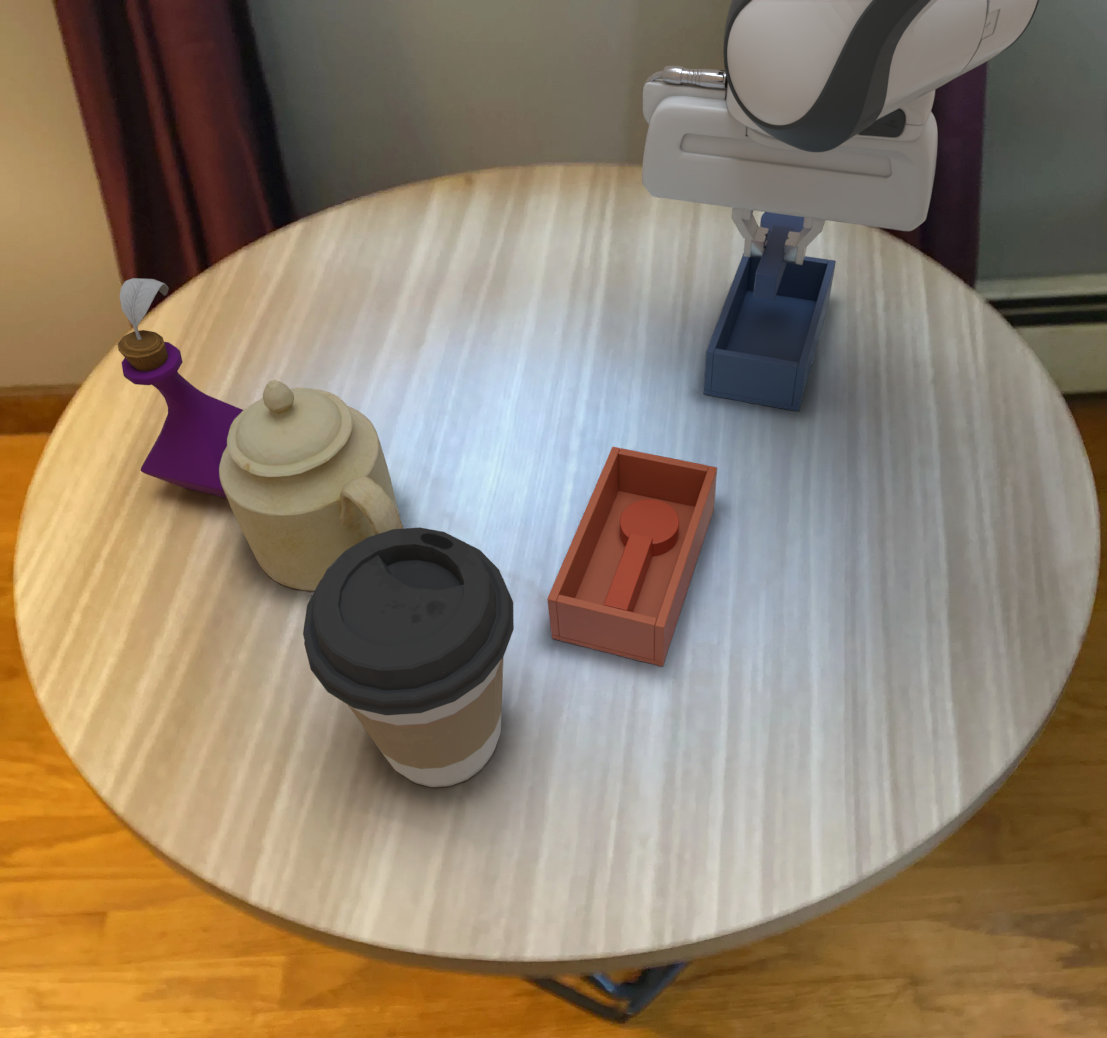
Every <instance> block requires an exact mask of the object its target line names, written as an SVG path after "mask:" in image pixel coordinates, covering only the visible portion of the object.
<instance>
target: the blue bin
mask: <svg viewBox="0 0 1107 1038" xmlns="http://www.w3.org/2000/svg"><path fill="white" fill-rule="evenodd" d="M743 254H744V252H743V253H742V256H741V259H740V261H739V264H738V267H737V268H736V271H735V275H734V277H733V280H732V282H731V285H730V288H729V290H728V293H727V296H726V298H725V301H724V303H723V305H722V309H721V311H720V314H719V317H718V319H717V322H716V324H715V327H714V330H713V332H712V335H711V338H710V340H709V343H708V347H707V348H706V351H705V363H704V365H705V366H704V379H703V381H704V382H703V395H706V396H712V397H717V398H722V399H726V400H727V399H728V400H733V401H740V402H745V403H750V404H754V405H761V406H766V407H773V408H778V409H783V410H789V411H794V412H799V411H800V409H801V405H802V401H803V397H804V393H805V391H806V386H807V383H808V380H809V376H810V372H811V368H812V365H813V362H814V357H815V356H816V355H815V354H816V350H817V347H818V343H819V340H820V336H821V333H822V329H823V325H824V321H825V319H826V315H827V311H828V307H829V304H830V298H831V294H832V287H833V282H834V281H833V280H834V275H835V270H836V264H837V262H836V260H835V259H827V258H820V257H813V256H807V255H805V258H804V261H803V264H802V265H798V264H792V263H787V264H786V267H785V270H784V273H783V276H782V279H781V282H780V285H779V287H778V290H777V293H776V296H775V299H774V300H769V299H762V298H756V297H753V294H754V284H755V275H756V271H757V268H758V266H759V263H760V260H761V259H757V258H750V257H744V255H743Z"/></svg>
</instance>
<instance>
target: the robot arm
mask: <svg viewBox="0 0 1107 1038" xmlns="http://www.w3.org/2000/svg"><path fill="white" fill-rule="evenodd" d="M1039 2H1040V0H730V5H729V8H728V11H727V16H726V22H725V25H724V34H723V47H722V49H723V66H724V70H723V69H712V68H687V67H684V66H681V65H667V66H664V67H663V70H660V71H656V72H654V73H652V74H650V75H649V77H647V79H645V81H644V83H643V86H642V90H641V92H642V95H641V97H642V99H641V102H642V104H641V105H642V106H641V107H642V108H641V110H642V114H643V117H644V120H645V122H646V123H647V124H648V127H647V133H646V138H645V143H644V149H643V157H642V166H641V183H642V186H644V188H645V190H646V191H647V192H648V193H649V195H650V196H651V197H654V198H659V199H667V200H675V201H681V202H688V203H695V204H696V203H697V204H703V205H710V206H719V207H725V208H731V220H732V222H733V223H734V225H735V227H736V228H737V231H738V233H739V235H740V236H741V237H742V239H744V242H743V243H744V245H743V253H744V254H743V253H742V256H743V255H744V257H750V258H757V259H761V257H762V255H763V253H764V250H765V247H766V245H767V242H768V241H767V238H768V233H769V228H763V227H760V226H759V224H758V222H757V220H756V219H755V216H754V214H753V213H754V211H757V212H763V213H764V212H769V213H777V214H784V215H791V216H799V217H804V224H803V227H804V228H803V229H802V230H801V232H791V231H789V234H788V237H787V240H786V242H785V247H784V256H783V262H786V263H792V264H798V265H802V264H803V261H804V258H805V256H806V253H807V248H808V246H809V245H810V244H811V243H812V242H813V241H814V240H815V239H816V238H817V237H818V236H819V235H820V234H821V233H822V231H823V229H824V226H825V223H826V221H829V222H836V223H844V224H851V225H859V226H866V227H867V226H868V227H874V228H881V229H889V230H895V231H902V232H912V231H914V230H915V229H917V228H919V226H920V225H922V224H923V223H924V222H926V220H927V218H928V213H929V208H930V203H931V199H932V192H933V188H934V181H935V175H936V168H937V158H938V141H939V138H938V135H939V134H938V133H939V132H938V124H937V119H936V117H935V115H934V113H933V112H932V109H933V105H934V103H935V102H934V101H935V97H936V90H937V89H939V88H941V87H942V86H943V87H944V85H946V84H949V82H951V81H953V80H955V79H957V78H958V77H960V76H962V75H964V74H967V72H970V71H971V70H974V69H975V68H977V67H979V66H981V65H983V64H985V63H986V62H988V61H991V60H992V59H993V58H994V57H996V56H997V55H999V54H1000V53H1002V52H1004V51H1006V50H1007V49H1009V48H1010V47H1012V46H1013V45H1014V44H1015V43H1016V42H1017V41H1019V39H1020V38H1021V37H1022V35H1023V34H1024V33H1025V31H1026V30H1027V28H1028V27H1029V26H1030V24H1031V22H1032V20H1033V18H1034V16H1035V13H1036V11H1037V8H1038V6H1039Z"/></svg>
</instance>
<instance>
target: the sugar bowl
mask: <svg viewBox="0 0 1107 1038" xmlns="http://www.w3.org/2000/svg"><path fill="white" fill-rule="evenodd" d="M263 389H264V390H263V391H262V398H260V399H258V400H257V401H255V402H254V403H252V404H250V405H249V406H247V407H245V408H244V409H243V411H242V412H241V413H240V414H239V415H238V416H237V417H236V418H235V419H234V421H233V423H232V424H231V426H230V430H229V434H228V438H227V447H226V449H225V451H224V452H223V455H222V458H221V462H220V466H219V477H220V481H221V485H222V487H223V490H224V492H225V494H226V497H227V498H226V499H227V501H228V503H229V506H230V509H231V511H232V513H233V515H234V517H235V519H236V521H237V523H238V526H239V528H240V529H241V531H242V533H243V535H244V536H243V537H245V540H246V541H247V544H248V546H249V547H250V549H251V552H252V554H253V555H254V557H255V560H256V561H257V563H258V565H259V566H260V568H261V569H262V570H263V571H264V573H265V574H266V575H267V576H268V577H269V578H271V579H272V581H275V582H277V583H278V584H280V585H283V586H285V587H287V588H291V589H295V590H300V591H311V592H314V591H315V589H316V587H317V586H318V584H319V582H320V580H321V579H322V578H323V576H324V574H325V572H326V570H327V569H328V568H329V567H330V566H331V565H332V563H333V562H334V561H335V560H336V559H337V558H338V557H339V556H340V555H341V554H342V553H343V552H344V551H346V550H347V549H349V548H351V547H352V546H354V545H356V544H357V543H359V542H361V541H362V540H364V539H366V538H367V537H370V536H373V535H376V534H380V533H383V532H386V531H389V530H392V529H404V525H403V522H402V520H401V516H400V511H399V508H398V503H397V498H396V495H395V491H394V486H393V483H392V478H391V475H390V472H389V471H390V470H389V467H388V464H387V461H386V457H385V454H384V451H383V448H382V444H381V441H380V438H379V435H378V431H377V429H376V428H375V426H374V424H373V423H372V422H371V420H370V419H369V417H367V416H366V415H365V414H364V413H362V412H361V411H359V410H357V409H356V408H354V407H352V406H349V405H347V403H346V402H345V401H344V400H343V399H341V397H339V396H338V395H336V394H335V393H332V392H330V391H325V390H322V389H319V388H310V387H294V388H290V387H289V386H288V385H287V384H286V383H284V382H282V381H279V380H277V379H272V380H269V381H268V382H267V384H266V385H265V386H264V388H263Z"/></svg>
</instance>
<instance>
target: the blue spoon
mask: <svg viewBox="0 0 1107 1038" xmlns="http://www.w3.org/2000/svg"><path fill="white" fill-rule="evenodd" d="M803 224H804V217H799V216H791V215H784V214H777V213H769V212H763V213H762V214H761V217H760V221H759V227H763V228H769V233H768V238H767V241H768V242H767V245H766V247H765V250H764V253H763V255H762V257H761V260H760V263H759V266H758V268H757V271H756V275H755V284H754V294H753V297H756V298H762V299H769V300H774V299H775V296H776V293H777V290H778V287H779V285H780V282H781V279H782V276H783V273H784V270H785V267H786V264H787V263H786V262H783V256H784V247H785V242H786V240H787V237H788V234H789V231H791V232H801V230H802V229H803V228H804V227H803Z"/></svg>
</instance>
